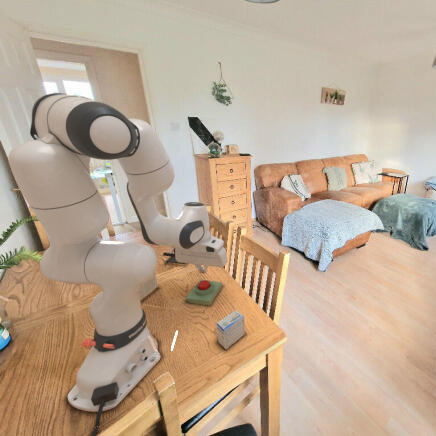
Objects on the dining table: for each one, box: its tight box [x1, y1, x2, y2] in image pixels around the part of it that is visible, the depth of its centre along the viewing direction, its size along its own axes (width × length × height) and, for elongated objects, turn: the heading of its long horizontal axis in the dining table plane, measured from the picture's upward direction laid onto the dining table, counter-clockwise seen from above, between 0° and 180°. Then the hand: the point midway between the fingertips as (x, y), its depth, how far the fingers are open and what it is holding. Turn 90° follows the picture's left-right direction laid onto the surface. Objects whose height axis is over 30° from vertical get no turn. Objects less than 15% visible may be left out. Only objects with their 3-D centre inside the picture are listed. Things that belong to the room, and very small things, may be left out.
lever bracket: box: [165, 249, 186, 265], centre depth 121 cm, size 12×10×14 cm
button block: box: [185, 279, 223, 306], centre depth 99 cm, size 12×10×4 cm
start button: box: [197, 279, 210, 290], centre depth 98 cm, size 4×4×2 cm
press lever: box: [162, 247, 175, 258], centre depth 116 cm, size 12×6×2 cm, turn 171°
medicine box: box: [216, 309, 246, 350], centre depth 78 cm, size 8×4×9 cm, turn 141°
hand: (203, 272), depth 96 cm, fingers closed
